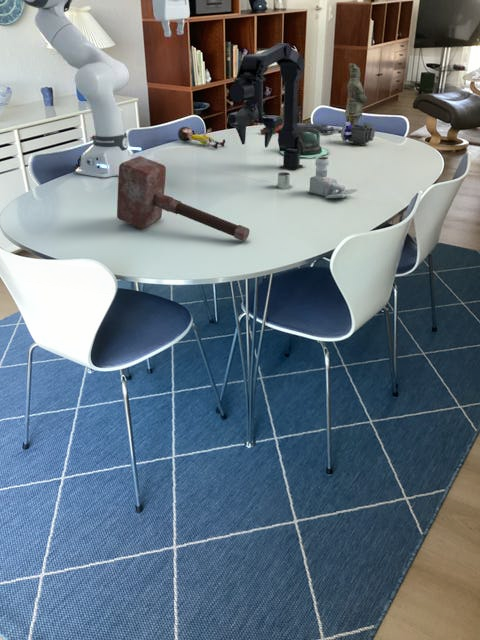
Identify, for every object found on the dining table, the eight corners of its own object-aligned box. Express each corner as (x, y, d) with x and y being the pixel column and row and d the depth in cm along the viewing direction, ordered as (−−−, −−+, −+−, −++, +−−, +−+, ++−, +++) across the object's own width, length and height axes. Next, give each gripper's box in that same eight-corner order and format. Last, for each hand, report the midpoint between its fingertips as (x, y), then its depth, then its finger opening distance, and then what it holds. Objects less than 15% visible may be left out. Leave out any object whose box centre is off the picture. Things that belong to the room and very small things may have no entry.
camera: (321, 153, 186) (360, 161, 177) (319, 188, 192) (356, 197, 183) (306, 158, 180) (345, 167, 171) (304, 194, 186) (342, 204, 177)
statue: (367, 132, 266) (374, 63, 251) (349, 133, 264) (355, 64, 249) (357, 127, 275) (362, 61, 260) (339, 129, 273) (344, 62, 258)
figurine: (211, 139, 238) (170, 125, 250) (210, 157, 242) (170, 142, 255) (230, 134, 247) (190, 120, 259) (229, 150, 251) (189, 136, 263)
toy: (345, 120, 249) (377, 123, 242) (343, 139, 253) (375, 143, 246) (337, 123, 243) (369, 127, 236) (336, 143, 247) (367, 147, 240)
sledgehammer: (260, 200, 149) (138, 154, 161) (243, 211, 142) (117, 162, 153) (248, 256, 159) (134, 209, 171) (232, 269, 152) (114, 219, 163)
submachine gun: (254, 130, 262) (277, 120, 281) (254, 136, 263) (277, 126, 282) (316, 136, 248) (336, 125, 267) (316, 142, 250) (336, 131, 268)
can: (280, 189, 192) (280, 176, 190) (275, 186, 195) (275, 173, 193) (291, 187, 193) (291, 174, 191) (286, 184, 197) (286, 171, 194)
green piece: (332, 145, 241) (326, 158, 224) (294, 164, 249) (286, 177, 233) (317, 113, 235) (310, 124, 219) (279, 133, 244) (269, 145, 228)
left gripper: (175, -14, 185) (178, 33, 192) (147, -14, 168) (151, 37, 175) (193, -14, 183) (195, 33, 190) (166, -14, 166) (170, 37, 173)
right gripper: (216, 99, 181) (218, 148, 189) (266, 103, 172) (266, 154, 180) (235, 94, 189) (236, 141, 197) (283, 98, 180) (282, 147, 188)
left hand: (174, 35), depth 182 cm, fingers open, 8 cm apart
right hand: (254, 145), depth 190 cm, fingers open, 9 cm apart
